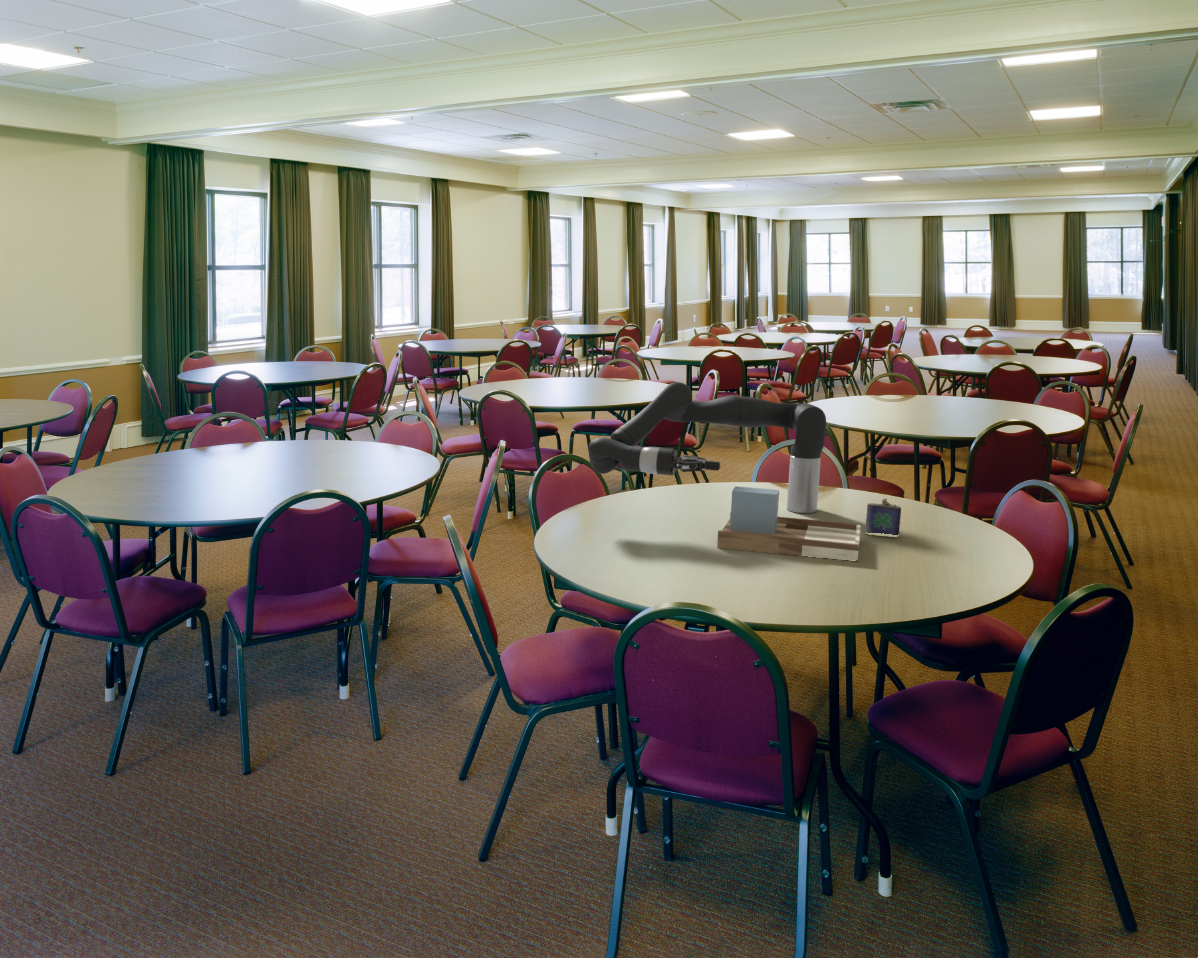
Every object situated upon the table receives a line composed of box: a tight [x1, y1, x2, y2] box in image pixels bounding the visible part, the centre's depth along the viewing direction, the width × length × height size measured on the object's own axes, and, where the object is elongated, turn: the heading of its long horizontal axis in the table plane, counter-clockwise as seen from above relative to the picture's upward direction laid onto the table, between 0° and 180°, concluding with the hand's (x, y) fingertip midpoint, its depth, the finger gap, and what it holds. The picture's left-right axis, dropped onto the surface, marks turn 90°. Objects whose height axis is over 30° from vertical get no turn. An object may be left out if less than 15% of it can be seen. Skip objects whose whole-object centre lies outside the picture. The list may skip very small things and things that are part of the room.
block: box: [730, 485, 780, 534], centre depth 243 cm, size 6×12×11 cm, turn 73°
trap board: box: [716, 512, 861, 560], centre depth 241 cm, size 22×36×4 cm, turn 73°
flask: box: [864, 498, 902, 535], centre depth 251 cm, size 9×3×11 cm, turn 65°
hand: (719, 466), depth 243 cm, fingers closed
